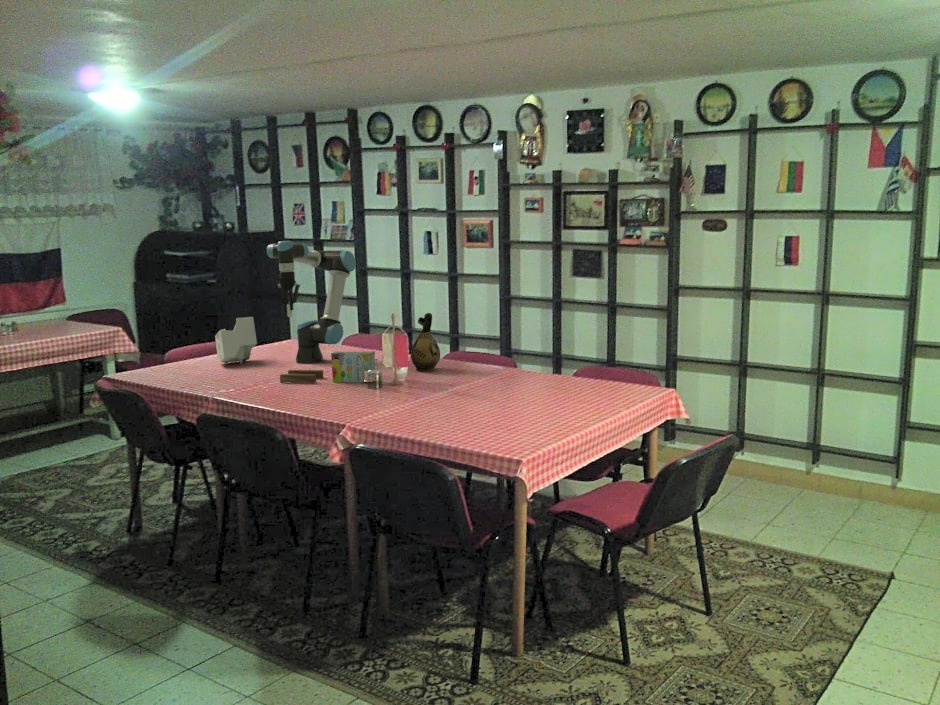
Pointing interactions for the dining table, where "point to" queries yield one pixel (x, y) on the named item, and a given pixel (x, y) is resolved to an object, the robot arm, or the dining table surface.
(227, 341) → the grey stepped block
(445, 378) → the dining table surface
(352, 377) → the snack box
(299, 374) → the walnut chute
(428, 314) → the ceramic jug
